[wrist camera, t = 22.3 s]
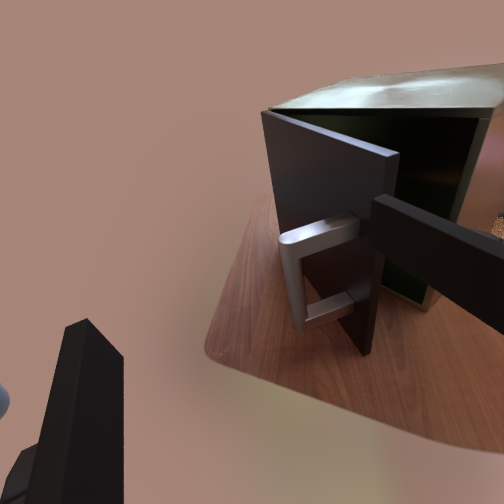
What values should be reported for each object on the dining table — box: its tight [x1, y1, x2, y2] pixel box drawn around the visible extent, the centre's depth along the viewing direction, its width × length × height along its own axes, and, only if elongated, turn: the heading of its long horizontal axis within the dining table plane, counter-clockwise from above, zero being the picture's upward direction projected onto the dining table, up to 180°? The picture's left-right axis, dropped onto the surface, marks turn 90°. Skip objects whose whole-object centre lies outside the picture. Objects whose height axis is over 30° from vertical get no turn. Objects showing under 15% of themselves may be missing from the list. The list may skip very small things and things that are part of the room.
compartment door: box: [261, 110, 400, 356], centre depth 33 cm, size 8×26×23 cm, turn 17°
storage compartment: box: [268, 63, 504, 312], centre depth 38 cm, size 18×26×24 cm
